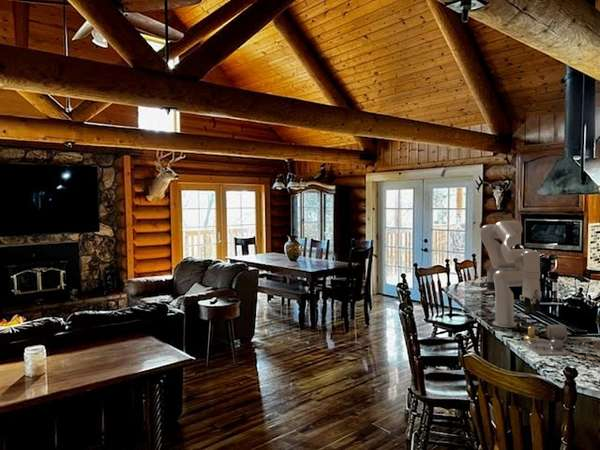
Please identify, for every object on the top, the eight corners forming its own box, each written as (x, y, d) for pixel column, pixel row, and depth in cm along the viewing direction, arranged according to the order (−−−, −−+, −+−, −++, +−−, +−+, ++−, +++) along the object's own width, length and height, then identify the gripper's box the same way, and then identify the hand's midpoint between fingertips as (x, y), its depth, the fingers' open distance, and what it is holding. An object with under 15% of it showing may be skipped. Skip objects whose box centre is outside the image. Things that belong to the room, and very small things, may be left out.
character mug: (520, 314, 277) (520, 293, 276) (518, 311, 284) (518, 291, 283) (540, 314, 274) (540, 294, 273) (537, 312, 280) (537, 291, 280)
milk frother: (498, 290, 350) (498, 271, 349) (477, 288, 359) (476, 270, 358) (501, 287, 362) (501, 269, 361) (480, 285, 370) (480, 268, 370)
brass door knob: (521, 337, 229) (521, 325, 229) (535, 337, 229) (535, 325, 229) (527, 342, 222) (527, 329, 222) (541, 342, 222) (542, 329, 222)
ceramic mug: (545, 336, 231) (545, 322, 230) (562, 337, 229) (562, 322, 228) (552, 343, 220) (552, 328, 220) (570, 344, 219) (570, 328, 218)
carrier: (521, 343, 221) (521, 333, 220) (550, 343, 220) (550, 333, 220) (538, 355, 204) (538, 344, 203) (569, 354, 203) (569, 344, 203)
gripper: (516, 272, 233) (516, 305, 233) (532, 277, 216) (532, 312, 216) (531, 272, 233) (531, 305, 233) (548, 277, 215) (548, 312, 216)
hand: (531, 308), depth 225 cm, fingers open, 9 cm apart
